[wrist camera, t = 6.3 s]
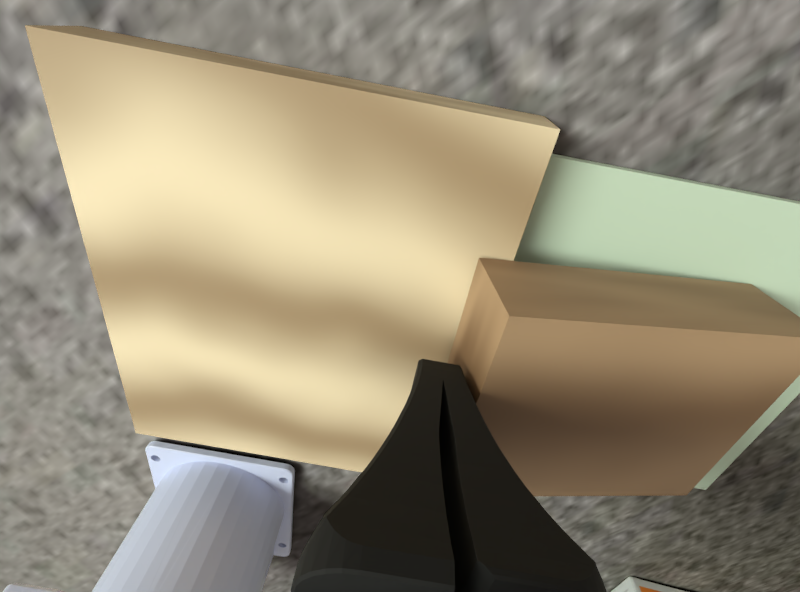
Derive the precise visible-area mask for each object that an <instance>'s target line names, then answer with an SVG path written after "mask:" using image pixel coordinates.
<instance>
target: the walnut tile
mask: <svg viewBox="0 0 800 592" xmlns="http://www.w3.org/2000/svg"><path fill="white" fill-rule="evenodd" d="M448 363H450V364H455V365H460V367H461V368H462V371H463V374H464V376H465V379H466V382H467V384H468V387H469V389H470V391H471V394H472V396H473V398H474V400H475V403H476V405H477V407H478V409H479V411H480V413H481V415H482V417H483V419H484V421H485V423H486V425H487V427H488V429H489V430H490V432H491V434H492V436H493V438H494V439H495V441H496V443H497V444H498V446H499V448H500V449H501V451H502V453H503V454H504V456H505V457H506V459H507V460H508V462H509V463H510V465H511V466H512V468H513V469H514V471H515V472H516V474H517V475H518V476H519V478H520V479H521V481H522V482H523V483H524V485H525V486H526V487H527V489H528V490H529V491H530V492H531V494H532V495H533V496H662V495H687V494H688V493H689V492H690V491H691V490H692V489H693V488H694V487H695V486H696V485H697V484H698V482H699V481H700V480H701V479H702V478H703V477H704V476H705V475H706V474H707V473H708V472H709V471H710V470H711V469H712V468H713V467H714V465H715V464H716V463H717V462H718V461H719V460H720V459H721V458H722V457H723V456H724V455H725V454H726V453H727V452H728V451H729V450H730V449H731V447H732V446H733V445H734V444H735V443H736V442H737V441H738V440H739V439H740V438H741V437H742V436H743V435H744V434H745V433H746V432H747V430H748V429H749V428H750V427H751V426H752V425H753V424H754V423H755V422H756V421H757V420H758V419H759V418H760V417H761V416H762V415H763V413H764V412H765V411H766V410H767V409H768V408H769V407H770V406H771V405H772V404H773V403H774V402H775V401H776V400H777V399H778V398H779V396H780V395H781V394H782V393H783V392H784V391H785V390H786V389H787V388H788V387H789V386H790V385H791V384H792V383H793V382H794V381H795V379H796V378H797V377H798V376H799V375H800V317H799V316H797V315H796V314H795V313H793V312H792V311H790V310H789V309H787V308H786V307H784V306H783V305H781V304H780V303H778V302H777V301H775V300H774V299H773V298H771V297H770V296H768V295H767V294H765V293H764V292H762V291H761V290H759V289H758V288H756V287H755V286H753V285H752V284H746V283H735V282H725V281H715V280H704V279H694V278H684V277H673V276H663V275H653V274H642V273H632V272H622V271H611V270H601V269H591V268H580V267H570V266H560V265H549V264H539V263H529V262H518V261H508V260H498V259H487V258H479V259H478V262H477V266H476V269H475V272H474V276H473V279H472V282H471V286H470V289H469V293H468V296H467V299H466V303H465V306H464V309H463V313H462V316H461V319H460V323H459V326H458V329H457V333H456V336H455V339H454V343H453V346H452V349H451V353H450V356H449V360H448Z"/></svg>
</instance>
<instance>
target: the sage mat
mask: <svg viewBox="0 0 800 592" xmlns="http://www.w3.org/2000/svg"><path fill="white" fill-rule="evenodd" d="M514 261H518V262H529V263H539V264H549V265H560V266H570V267H580V268H591V269H601V270H611V271H622V272H632V273H642V274H653V275H663V276H673V277H684V278H694V279H704V280H715V281H725V282H735V283H746V284H752V285H753V286H755V287H756V288H758V289H759V290H761V291H762V292H764V293H765V294H767V295H768V296H770V297H771V298H773V299H774V300H775V301H777V302H778V303H780V304H781V305H783V306H784V307H786V308H787V309H789V310H790V311H792V312H793V313H795V314H796V315H797V316H799V317H800V201H795V200H790V199H785V198H779V197H774V196H769V195H764V194H759V193H754V192H748V191H743V190H738V189H733V188H728V187H723V186H717V185H712V184H707V183H702V182H697V181H691V180H686V179H681V178H676V177H671V176H666V175H660V174H655V173H650V172H645V171H640V170H634V169H629V168H624V167H619V166H614V165H609V164H603V163H598V162H593V161H588V160H583V159H577V158H572V157H567V156H562V155H557V154H551V157H550V160H549V163H548V166H547V168H546V171H545V174H544V177H543V180H542V182H541V185H540V188H539V191H538V194H537V196H536V199H535V202H534V205H533V208H532V210H531V213H530V216H529V219H528V222H527V225H526V227H525V230H524V233H523V236H522V239H521V241H520V244H519V247H518V250H517V253H516V255H515V258H514ZM799 393H800V375H799V376H798V377H797V378H796V379H795V381H794V382H793V383H792V384H791V385H790V386H789V387H788V388H787V389H786V390H785V391H784V392H783V393H782V394H781V395H780V396H779V398H778V399H777V400H776V401H775V402H774V403H773V404H772V405H771V406H770V407H769V408H768V409H767V410H766V411H765V412H764V413H763V415H762V416H761V417H760V418H759V419H758V420H757V421H756V422H755V423H754V424H753V425H752V426H751V427H750V428H749V429H748V430H747V432H746V433H745V434H744V435H743V436H742V437H741V438H740V439H739V440H738V441H737V442H736V443H735V444H734V445H733V446H732V447H731V449H730V450H729V451H728V452H727V453H726V454H725V455H724V456H723V457H722V458H721V459H720V460H719V461H718V462H717V463H716V464H715V465H714V467H713V468H712V469H711V470H710V471H709V472H708V473H707V474H706V475H705V476H704V477H703V478H702V479H701V480H700V481H699V482H698V484H697V485H696V486H695V487H694V488H698V489H703V490H706V489H707V488H708V487H709V486H710V485H711V484H712V483H713V482H714V481H715V480H716V479H717V478H718V477H719V476H720V475H721V474H722V473H723V472H724V471H725V470H726V468H727V467H728V466H729V465H730V464H731V463H732V462H733V461H734V460H735V459H736V458H737V457H738V456H739V455H740V454H741V453H742V452H743V451H744V450H745V449H746V448H747V447H748V446H749V445H750V444H751V443H752V442H753V441H754V440H755V439H756V438H757V437H758V435H759V434H760V433H761V432H762V431H763V430H764V429H765V428H766V427H767V426H768V425H769V424H770V423H771V422H772V421H773V420H774V419H775V418H776V417H777V416H778V415H779V414H780V413H781V412H782V411H783V410H784V409H785V408H786V407H787V406H788V405H789V404H790V403H791V401H792V400H793V399H794V398H795V397H796V396H797V395H798V394H799Z"/></svg>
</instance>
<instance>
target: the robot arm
mask: <svg viewBox="0 0 800 592" xmlns="http://www.w3.org/2000/svg"><path fill="white" fill-rule="evenodd" d="M145 450H146V454H147V458H148V462H149V466H150V470H151V473H152V477H153V481H154V485H155V491H154V492H153V494H152V495H151V497H150V499H149V500H148V502H147V503H146V505H145V507H144V508H143V510H142V512H141V513H140V515H139V516H138V518H137V520H136V521H135V523H134V524H133V526H132V528H131V529H130V531H129V532H128V534H127V536H126V537H125V539H124V541H123V542H122V544H121V545H120V547H119V549H118V550H117V552H116V553H115V555H114V557H113V558H112V560H111V562H110V563H109V565H108V566H107V568H106V570H105V571H104V573H103V574H102V576H101V578H100V579H99V581H98V582H97V584H96V586H95V587H94V589H93V591H92V592H262V589H263V586H264V583H265V580H266V577H267V574H268V570H269V567H270V564H271V561H272V558H273V555H276V556H282V557H286V556H288V555H289V554H290V551H291V542H292V521H293V500H294V479H295V470H294V468H293V467H292V466H291V465H289V464H286V463H280V462H275V461H269V460H263V459H257V458H252V457H246V456H240V455H234V454H229V453H223V452H217V451H211V450H206V449H200V448H194V447H188V446H183V445H177V444H171V443H165V442H159V441H152V442H150V443H149V444H148V445H147V447H146V449H145ZM3 592H64V591H61V590H56V589H50V588H44V587H38V586H32V585H25V584H19V583H12V584H10V585H8V586H7V587H6V588H5V589H4V591H3ZM291 592H606V589H605V586H604V584H603V581H602V578H601V576H600V574H599V571H598V569H597V566H596V563H595V562H594V561H593V560H592V559H591V558H590V557H589V556H588V555H587V554H586V553H585V552H584V551H583V550H582V549H581V548H580V547H579V546H578V545H577V544H576V543H575V542H574V541H573V540H572V539H571V538H570V537H569V536H568V535H567V534H566V533H565V532H564V531H563V530H562V529H561V528H560V526H559V525H558V524H557V523H556V522H555V521H554V520H553V519H552V518H551V516H550V515H549V514H548V513H547V512H546V511H545V510H544V508H543V507H542V506H541V505H540V503H539V502H538V501H537V500H536V499H535V497H534V496H533V495H532V494H531V492H530V491H529V490H528V489H527V487H526V486H525V485H524V483H523V482H522V481H521V479H520V478H519V476H518V475H517V474H516V472H515V471H514V469H513V468H512V466H511V465H510V463H509V462H508V460H507V459H506V457H505V456H504V454H503V453H502V451H501V449H500V448H499V446H498V444H497V443H496V441H495V439H494V438H493V436H492V434H491V432H490V430H489V429H488V427H487V425H486V423H485V421H484V419H483V417H482V415H481V413H480V411H479V409H478V407H477V405H476V403H475V400H474V398H473V396H472V394H471V391H470V389H469V387H468V384H467V382H466V379H465V376H464V374H463V371H462V368H461V367H460V365H455V364H450V363H444V362H439V361H433V360H427V359H421V360H419V361H418V365H417V369H416V373H415V377H414V381H413V385H412V389H411V392H410V395H409V397H408V399H407V402H406V404H405V406H404V408H403V410H402V412H401V414H400V416H399V417H398V419H397V421H396V423H395V425H394V427H393V428H392V430H391V432H390V433H389V435H388V437H387V438H386V440H385V441H384V443H383V444H382V446H381V447H380V449H379V450H378V452H377V453H376V454H375V456H374V457H373V459H372V460H371V461H370V463H369V464H368V465H367V467H366V468H365V469H364V471H363V472H362V473H361V474H360V475H359V477H358V478H357V479H356V480H355V482H354V483H353V484H352V485H351V486H350V488H349V489H348V490H347V491H346V492H345V493H344V494H343V495H342V496H341V498H340V499H339V500H338V501H337V502H336V503H335V504H334V505H333V506H332V507H331V508H330V509H329V510H328V511H327V512H326V513H325V514H324V516H323V518H322V520H321V521H320V523H319V524H318V526H317V528H316V529H315V531H314V532H313V534H312V536H311V537H310V539H309V541H308V543H307V545H306V546H305V548H304V550H303V552H302V554H301V557H300V559H299V562H298V564H297V568H296V572H295V575H294V579H293V583H292V587H291Z"/></svg>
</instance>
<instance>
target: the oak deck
mask: <svg viewBox="0 0 800 592" xmlns="http://www.w3.org/2000/svg"><path fill="white" fill-rule="evenodd" d="M25 28H26V31H27V35H28V39H29V42H30V46H31V50H32V53H33V57H34V61H35V64H36V68H37V72H38V75H39V79H40V83H41V86H42V90H43V94H44V97H45V101H46V105H47V108H48V112H49V116H50V119H51V123H52V127H53V130H54V134H55V138H56V141H57V145H58V149H59V152H60V156H61V160H62V163H63V167H64V171H65V174H66V178H67V182H68V185H69V189H70V193H71V196H72V200H73V204H74V207H75V211H76V215H77V218H78V222H79V226H80V229H81V233H82V237H83V240H84V244H85V248H86V251H87V255H88V259H89V262H90V266H91V270H92V273H93V277H94V281H95V285H96V288H97V292H98V296H99V299H100V303H101V307H102V310H103V314H104V318H105V321H106V325H107V329H108V332H109V336H110V340H111V343H112V347H113V351H114V354H115V358H116V362H117V365H118V369H119V373H120V376H121V380H122V384H123V387H124V391H125V395H126V398H127V402H128V406H129V409H130V413H131V417H132V420H133V424H134V428H135V431H136V433H139V434H145V435H150V436H156V437H162V438H168V439H173V440H179V441H185V442H191V443H196V444H202V445H208V446H214V447H219V448H225V449H231V450H237V451H242V452H248V453H254V454H260V455H265V456H271V457H277V458H283V459H288V460H294V461H300V462H306V463H312V464H317V465H323V466H329V467H335V468H340V469H346V470H352V471H358V472H363V471H364V469H365V468H366V467H367V465H368V464H369V463H370V461H371V460H372V459H373V457H374V456H375V454H376V453H377V452H378V450H379V449H380V447H381V446H382V444H383V443H384V441H385V440H386V438H387V437H388V435H389V433H390V432H391V430H392V428H393V427H394V425H395V423H396V421H397V419H398V417H399V416H400V414H401V412H402V410H403V408H404V406H405V404H406V402H407V399H408V397H409V395H410V392H411V389H412V385H413V381H414V377H415V373H416V369H417V365H418V361H419V360H421V359H427V360H433V361H439V362H444V363H448V360H449V356H450V353H451V349H452V346H453V343H454V339H455V336H456V333H457V329H458V326H459V323H460V319H461V316H462V313H463V309H464V306H465V303H466V299H467V296H468V293H469V289H470V286H471V282H472V279H473V276H474V272H475V269H476V266H477V262H478V259H479V258H487V259H498V260H508V261H514V258H515V255H516V253H517V250H518V247H519V244H520V241H521V239H522V236H523V233H524V230H525V227H526V225H527V222H528V219H529V216H530V213H531V210H532V208H533V205H534V202H535V199H536V196H537V194H538V191H539V188H540V185H541V182H542V180H543V177H544V174H545V171H546V168H547V166H548V163H549V160H550V157H551V154H552V152H553V149H554V146H555V143H556V140H557V138H558V135H559V132H560V129H559V128H558V127H557V126H555V125H554V124H553V123H552V122H551V121H549V120H548V119H547V118H546V117H544V116H540V115H534V114H529V113H524V112H519V111H514V110H509V109H504V108H499V107H493V106H488V105H483V104H478V103H473V102H468V101H463V100H458V99H452V98H447V97H442V96H437V95H432V94H427V93H422V92H417V91H411V90H406V89H401V88H396V87H391V86H386V85H381V84H376V83H370V82H365V81H360V80H355V79H350V78H345V77H340V76H334V75H329V74H324V73H319V72H314V71H309V70H304V69H299V68H293V67H288V66H283V65H278V64H273V63H268V62H263V61H258V60H252V59H247V58H242V57H237V56H232V55H227V54H222V53H217V52H211V51H206V50H201V49H196V48H191V47H186V46H181V45H176V44H170V43H165V42H160V41H155V40H150V39H145V38H140V37H135V36H129V35H124V34H119V33H114V32H109V31H104V30H99V29H94V28H88V27H83V26H37V25H25Z"/></svg>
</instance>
